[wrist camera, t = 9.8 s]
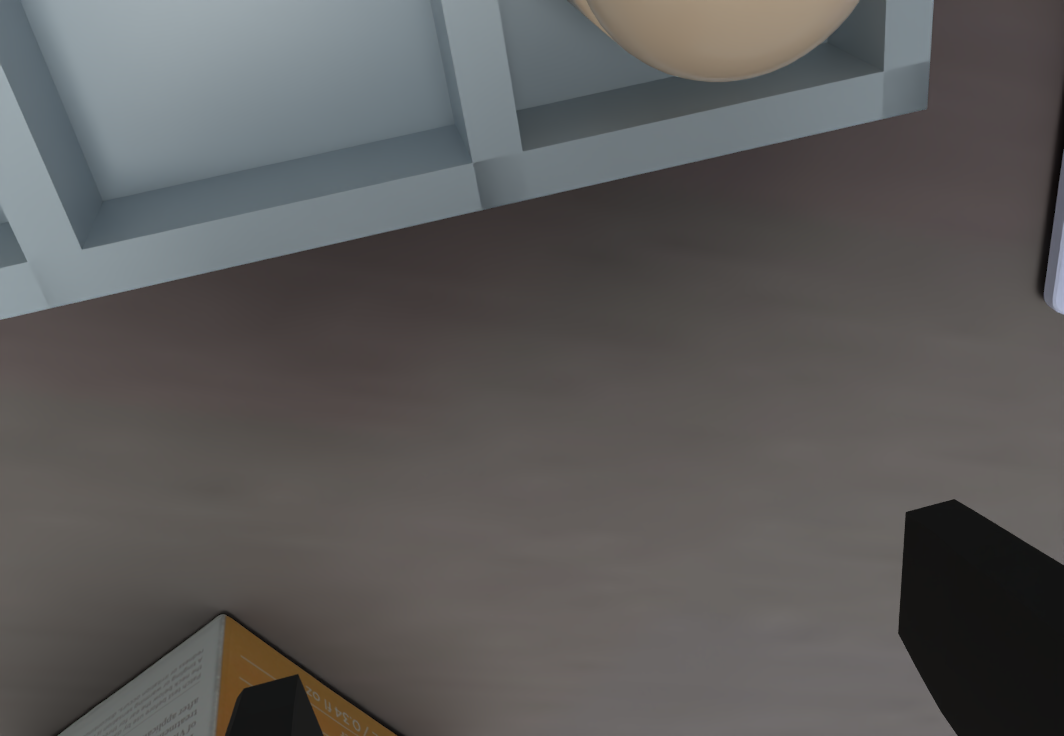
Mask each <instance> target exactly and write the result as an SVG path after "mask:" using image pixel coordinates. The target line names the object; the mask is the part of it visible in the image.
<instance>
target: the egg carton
mask: <svg viewBox="0 0 1064 736" xmlns="http://www.w3.org/2000/svg"><path fill="white" fill-rule="evenodd" d="M933 4H934V0H860V1H859V3H858V4H857V5H856V7H855V8H854V10H853V11H852V12H851V14H850V15H849V16H848V17H847V18H846V20H845V21H844V22H843V23H842V24H841V25H840V26H839V28H838V29H837V30H835V31H834V32H833V33H832V34H831V35H830V36H829V37H828V38H827V39H826V40H825V41H824V42H822V43H821V44H820V45H818V46H817V47H816V48H814V49H813V50H811V51H810V52H809V53H807V54H806V55H804V56H803V57H801V58H799V59H798V60H796V61H794V62H792V63H791V64H789V65H787V66H785V67H783V68H780V69H778V70H776V71H773V72H771V73H768V74H764V75H761V76H757V77H754V78H749V79H744V80H737V81H731V82H704V81H696V80H689V79H683V78H680V77H676V76H673V75H669V74H666V73H664V72H661V71H659V70H657V69H655V68H653V67H650V66H648V65H647V64H645V63H643V62H642V61H640V60H639V59H637V58H635V57H634V56H632V55H631V54H629V53H628V52H627V51H625V50H624V49H623V48H622V47H621V46H620V45H618V44H617V43H616V42H615V41H614V40H612V39H611V38H610V37H609V36H608V35H607V34H605V33H604V32H603V31H602V30H601V29H600V28H598V27H597V26H596V25H595V24H594V23H593V22H591V21H590V20H589V19H588V18H587V17H586V16H584V15H583V14H582V13H581V12H580V11H579V10H577V9H576V8H575V7H574V6H573V5H572V4H570V3H569V2H568V1H567V0H0V320H1V319H6V318H10V317H14V316H19V315H23V314H28V313H32V312H36V311H41V310H45V309H50V308H54V307H58V306H63V305H67V304H71V303H76V302H80V301H85V300H89V299H93V298H98V297H102V296H107V295H111V294H115V293H120V292H124V291H129V290H133V289H137V288H142V287H146V286H151V285H155V284H159V283H164V282H168V281H173V280H177V279H181V278H186V277H190V276H195V275H199V274H203V273H208V272H212V271H217V270H221V269H225V268H230V267H234V266H239V265H243V264H247V263H252V262H256V261H261V260H265V259H269V258H274V257H278V256H283V255H287V254H291V253H296V252H300V251H305V250H309V249H313V248H318V247H322V246H327V245H331V244H335V243H340V242H344V241H349V240H353V239H357V238H362V237H366V236H371V235H375V234H379V233H384V232H388V231H392V230H397V229H401V228H406V227H410V226H414V225H419V224H423V223H428V222H432V221H436V220H441V219H445V218H450V217H454V216H458V215H463V214H467V213H472V212H476V211H480V210H485V209H489V208H494V207H498V206H502V205H507V204H511V203H516V202H520V201H524V200H529V199H533V198H538V197H542V196H546V195H551V194H555V193H560V192H564V191H568V190H573V189H577V188H582V187H586V186H590V185H595V184H599V183H604V182H608V181H612V180H617V179H621V178H626V177H630V176H634V175H639V174H643V173H648V172H652V171H656V170H661V169H665V168H670V167H674V166H678V165H683V164H687V163H691V162H696V161H700V160H705V159H709V158H713V157H718V156H722V155H727V154H731V153H735V152H740V151H744V150H749V149H753V148H757V147H762V146H766V145H771V144H775V143H779V142H784V141H788V140H793V139H797V138H801V137H806V136H810V135H815V134H819V133H823V132H828V131H832V130H837V129H841V128H845V127H850V126H854V125H859V124H863V123H867V122H872V121H876V120H881V119H885V118H889V117H894V116H898V115H903V114H907V113H911V112H916V111H920V110H925V109H927V103H928V87H929V70H930V54H931V37H932V20H933Z"/></svg>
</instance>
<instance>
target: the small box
mask: <svg viewBox="0 0 1064 736" xmlns="http://www.w3.org/2000/svg"><path fill="white" fill-rule="evenodd" d="M296 674H299V677H300V679H301V682H302V684H303V686H304V689H305V691H306V694H307V696H308V699H309V701H310V703H311V706H312V708H313V711H314V713H315V716H316V718H317V720H318V723H319V725H320V728H321V730H322V732H323V735H324V736H397V735H396V734H394V733H393V732H391V731H390V730H388V729H387V728H385V727H384V726H382V725H381V724H380V723H378V722H377V721H375V720H374V719H372V718H371V717H370V716H368V715H367V714H365V713H364V712H362V711H361V710H359V709H358V708H356V707H355V706H354V705H352V704H351V703H349V702H348V701H346V700H345V699H343V698H342V697H340V696H339V695H338V694H336V693H335V692H333V691H332V690H330V689H329V688H327V687H326V686H325V685H323V684H322V683H320V682H319V681H318V680H316V679H315V678H314V677H312V676H311V675H310V674H308V673H307V672H305V671H304V670H303V669H301V668H300V667H298V666H297V665H295V664H294V663H293V662H291V661H290V660H288V659H287V658H286V657H284V656H283V655H281V654H280V653H279V652H277V651H276V650H274V649H273V648H272V647H270V646H269V645H267V644H266V643H265V642H263V641H262V640H261V639H259V638H258V637H256V636H255V635H254V634H252V633H251V632H249V631H248V630H247V629H245V628H244V627H243V626H241V625H240V624H239V623H237V622H236V621H235V620H233V619H232V618H230V617H229V616H227V615H225V614H222V615H219V616H217V617H216V618H215V619H214V620H212V621H211V622H210V623H208V624H207V625H206V626H204V627H203V628H202V629H200V630H199V631H198V632H196V633H195V634H194V635H192V636H191V637H190V638H188V639H187V640H186V641H184V642H183V643H182V644H181V645H179V646H178V647H176V648H175V649H174V650H172V651H171V652H170V653H168V654H167V655H165V656H164V657H163V658H161V659H160V660H159V661H157V662H156V663H155V664H153V665H152V666H151V667H149V668H148V669H147V670H146V671H144V672H143V673H141V674H140V675H139V676H137V677H136V678H135V679H133V680H132V681H131V682H129V683H128V684H126V685H125V686H124V687H122V688H121V689H120V690H118V691H117V692H115V693H114V694H113V695H111V696H110V697H109V698H107V699H106V700H104V701H103V702H101V703H100V704H99V705H97V706H96V707H95V708H93V709H92V710H91V711H89V712H88V713H87V714H85V715H84V716H83V717H81V718H80V719H79V720H77V721H76V722H74V723H73V724H72V725H71V726H69V727H68V728H67V729H65V730H64V731H63V732H62V733H60V734H59V735H58V736H225V733H226V730H227V727H228V724H229V721H230V718H231V715H232V712H233V709H234V705H235V702H236V699H237V697H238V696H239V694H240V693H241V692H242V690H243V689H244V688H247V687H251V686H255V685H258V684H262V683H266V682H270V681H273V680H277V679H281V678H285V677H288V676H292V675H296Z"/></svg>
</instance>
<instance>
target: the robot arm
mask: <svg viewBox="0 0 1064 736" xmlns="http://www.w3.org/2000/svg"><path fill="white" fill-rule="evenodd" d="M1044 300H1045V302H1046V303H1047V305H1048V306H1050V307H1051V308H1052V309H1054V310H1055V311H1057V312H1059V313H1061V314H1064V151H1063V158H1062V165H1061V172H1060V180H1059V187H1058V194H1057V201H1056V209H1055V216H1054V223H1053V230H1052V237H1051V245H1050V252H1049V259H1048V266H1047V274H1046V281H1045V288H1044ZM898 634H899V636H900V637H901V639H902V641H903V643H904V645H905V647H906V649H907V651H908V653H909V655H910V656H911V658H912V660H913V662H914V664H915V666H916V668H917V670H918V672H919V673H920V675H921V677H922V679H923V681H924V682H925V684H926V686H927V688H928V690H929V691H930V693H931V695H932V697H933V698H934V700H935V702H936V704H937V706H938V707H939V709H940V711H941V712H942V714H943V715H944V717H945V718H946V720H947V721H948V722H949V724H950V725H951V727H952V728H953V730H954V731H955V733H956V734H957V735H958V736H1064V565H1062V564H1061V563H1059V562H1057V561H1056V560H1054V559H1052V558H1051V557H1049V556H1047V555H1046V554H1044V553H1042V552H1041V551H1039V550H1038V549H1036V548H1034V547H1033V546H1031V545H1029V544H1028V543H1026V542H1024V541H1023V540H1021V539H1019V538H1018V537H1016V536H1015V535H1013V534H1011V533H1010V532H1008V531H1006V530H1005V529H1003V528H1002V527H1000V526H998V525H997V524H995V523H993V522H992V521H990V520H988V519H987V518H985V517H983V516H982V515H980V514H979V513H977V512H975V511H974V510H972V509H970V508H968V507H967V506H965V505H963V504H962V503H960V502H958V501H957V500H955V499H953V500H950V501H946V502H942V503H938V504H935V505H931V506H927V507H923V508H919V509H916V510H912V511H908V512H906V518H905V534H904V550H903V566H902V582H901V598H900V614H899V630H898ZM225 736H324V735H323V732H322V730H321V728H320V725H319V723H318V720H317V718H316V716H315V713H314V711H313V708H312V706H311V703H310V701H309V699H308V696H307V694H306V691H305V689H304V686H303V684H302V682H301V679H300V677H299V674H296V675H292V676H288V677H285V678H281V679H277V680H273V681H270V682H266V683H262V684H258V685H255V686H251V687H247V688H244V689H243V690H242V692H241V693H240V694H239V696H238V697H237V699H236V702H235V705H234V709H233V712H232V715H231V718H230V721H229V724H228V727H227V730H226V733H225Z"/></svg>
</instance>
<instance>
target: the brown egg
mask: <svg viewBox="0 0 1064 736" xmlns="http://www.w3.org/2000/svg"><path fill="white" fill-rule="evenodd" d="M567 1H568V2H569V3H570V4H572V5H573V6H574V7H575V8H576V9H577V10H579V11H580V12H581V13H582V14H583V15H584V16H586V17H587V18H588V19H589V20H590V21H591V22H593V23H594V24H595V25H596V26H597V27H598V28H600V29H601V30H602V31H603V32H604V33H605V34H607V35H608V36H609V37H610V38H611V39H612V40H614V41H615V42H616V43H617V44H618V45H620V46H621V47H622V48H623V49H624V50H625V51H627V52H628V53H629V54H631V55H632V56H634V57H635V58H637V59H639V60H640V61H642V62H643V63H645V64H647V65H648V66H650V67H653V68H655V69H657V70H659V71H661V72H664V73H666V74H669V75H673V76H676V77H680V78H683V79H689V80H696V81H704V82H731V81H737V80H744V79H749V78H754V77H757V76H761V75H764V74H768V73H771V72H773V71H776V70H778V69H780V68H783V67H785V66H787V65H789V64H791V63H792V62H794V61H796V60H798V59H799V58H801V57H803V56H804V55H806V54H807V53H809V52H810V51H811V50H813V49H814V48H816V47H817V46H818V45H820V44H821V43H822V42H824V41H825V40H826V39H827V38H828V37H829V36H830V35H831V34H832V33H833V32H834V31H835V30H837V29H838V28H839V26H840V25H841V24H842V23H843V22H844V21H845V20H846V18H847V17H848V16H849V15H850V14H851V12H852V11H853V10H854V8H855V7H856V5H857V4H858V3H859V1H860V0H567Z"/></svg>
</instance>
